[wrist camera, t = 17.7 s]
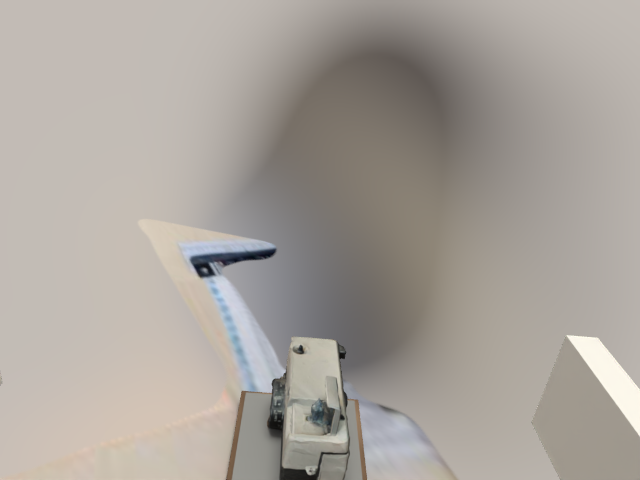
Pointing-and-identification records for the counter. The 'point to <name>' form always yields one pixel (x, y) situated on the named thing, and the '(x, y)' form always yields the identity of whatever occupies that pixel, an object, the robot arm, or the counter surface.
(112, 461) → the counter surface
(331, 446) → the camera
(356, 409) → the walnut stand
